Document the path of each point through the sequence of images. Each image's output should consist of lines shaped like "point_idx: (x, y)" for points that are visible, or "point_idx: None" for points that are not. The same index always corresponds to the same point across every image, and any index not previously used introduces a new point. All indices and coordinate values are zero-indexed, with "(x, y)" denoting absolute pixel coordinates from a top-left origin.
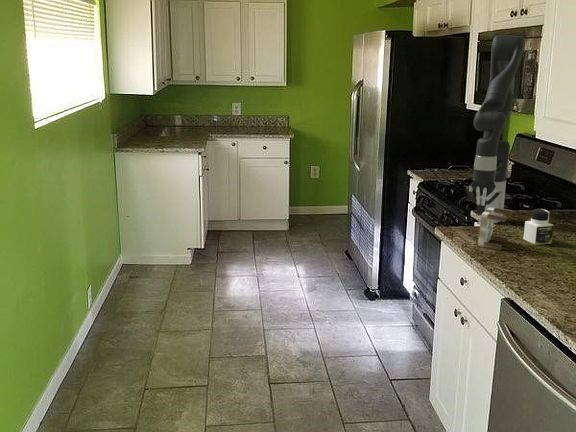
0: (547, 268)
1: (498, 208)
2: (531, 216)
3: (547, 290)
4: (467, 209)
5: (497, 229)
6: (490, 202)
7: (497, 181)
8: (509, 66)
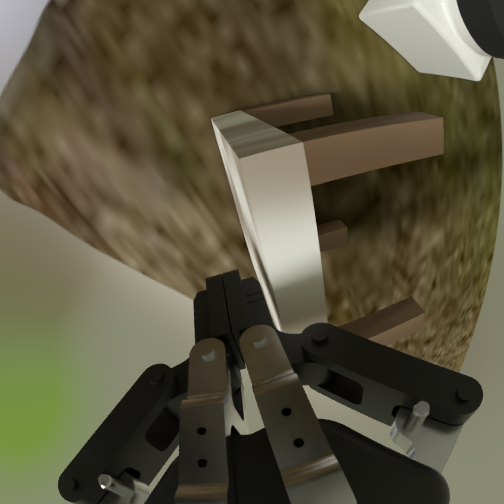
0: (460, 272)
1: (340, 156)
2: (472, 23)
3: (446, 353)
4: None
5: None
6: (345, 377)
7: None
8: None
